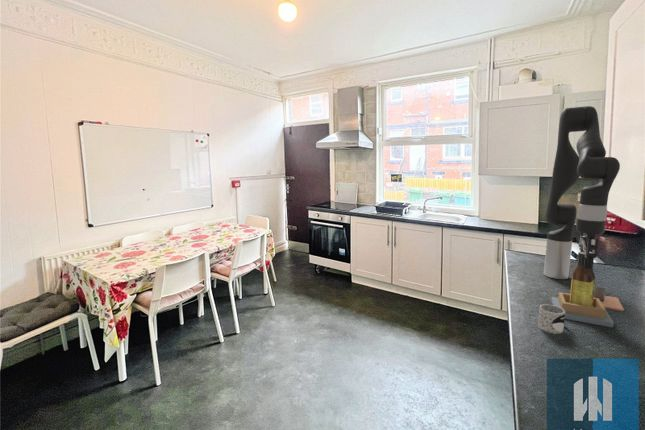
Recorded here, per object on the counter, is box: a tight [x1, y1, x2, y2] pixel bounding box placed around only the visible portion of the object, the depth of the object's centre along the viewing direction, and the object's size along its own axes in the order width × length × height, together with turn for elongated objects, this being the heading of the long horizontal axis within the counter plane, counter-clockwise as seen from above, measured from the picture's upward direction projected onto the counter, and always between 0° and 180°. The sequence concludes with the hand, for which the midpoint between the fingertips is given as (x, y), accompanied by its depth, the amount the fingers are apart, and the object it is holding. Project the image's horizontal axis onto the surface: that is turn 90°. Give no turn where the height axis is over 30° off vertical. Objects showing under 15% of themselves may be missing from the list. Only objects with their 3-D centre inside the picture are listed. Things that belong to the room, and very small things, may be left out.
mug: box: [537, 304, 566, 335], centre depth 104 cm, size 10×7×7 cm
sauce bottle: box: [569, 251, 596, 307], centre depth 112 cm, size 7×6×20 cm
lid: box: [593, 285, 625, 312], centre depth 122 cm, size 12×12×6 cm
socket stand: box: [550, 291, 615, 328], centre depth 113 cm, size 15×15×4 cm
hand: (585, 264), depth 111 cm, fingers open, 8 cm apart
